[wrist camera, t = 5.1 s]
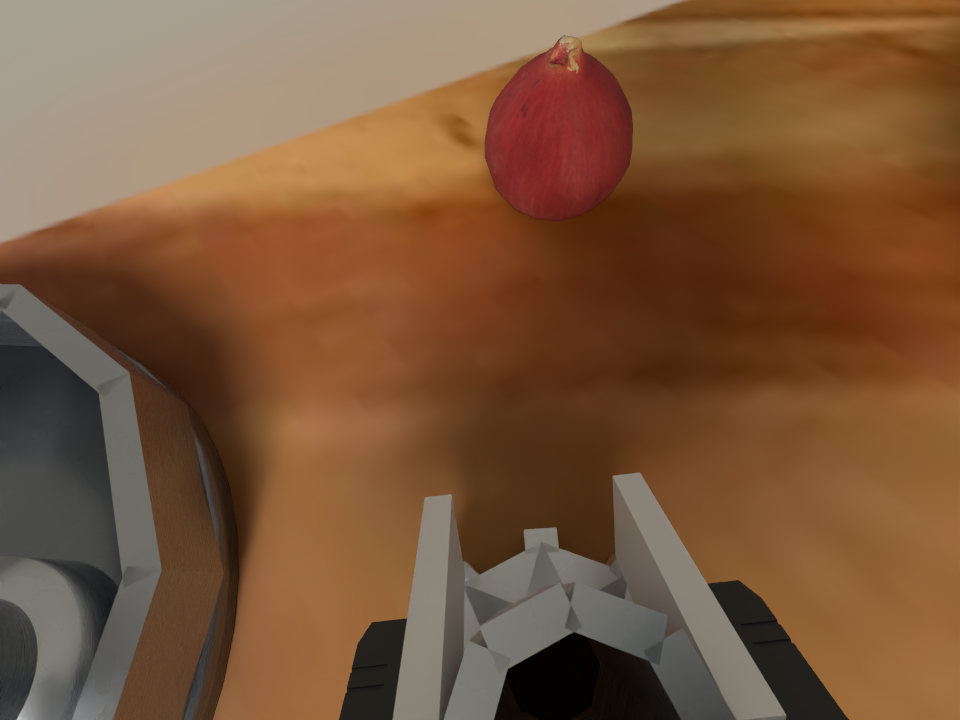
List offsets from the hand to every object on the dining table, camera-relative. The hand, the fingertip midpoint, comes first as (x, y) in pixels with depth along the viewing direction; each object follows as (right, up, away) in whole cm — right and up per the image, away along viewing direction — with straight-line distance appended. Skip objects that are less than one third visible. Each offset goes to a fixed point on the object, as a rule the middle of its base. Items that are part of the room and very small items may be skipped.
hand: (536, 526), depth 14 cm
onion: (+2, +12, +9) cm, 15 cm away
